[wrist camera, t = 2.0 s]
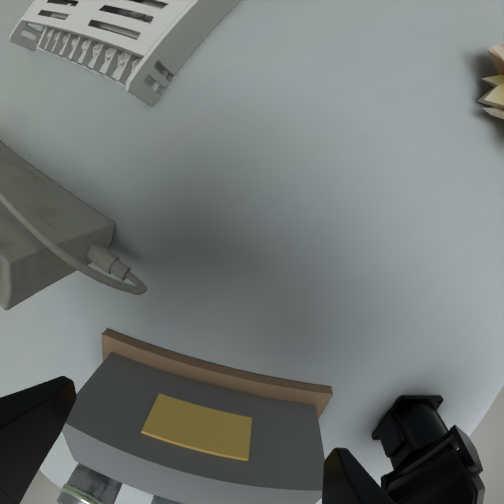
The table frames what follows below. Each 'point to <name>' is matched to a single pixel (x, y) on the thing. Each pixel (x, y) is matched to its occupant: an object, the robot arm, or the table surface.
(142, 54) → the power supply unit
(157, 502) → the cylinder
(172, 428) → the block
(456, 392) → the table surface
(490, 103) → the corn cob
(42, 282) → the geiger counter
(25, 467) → the robot arm
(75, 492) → the cylinder
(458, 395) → the table surface
